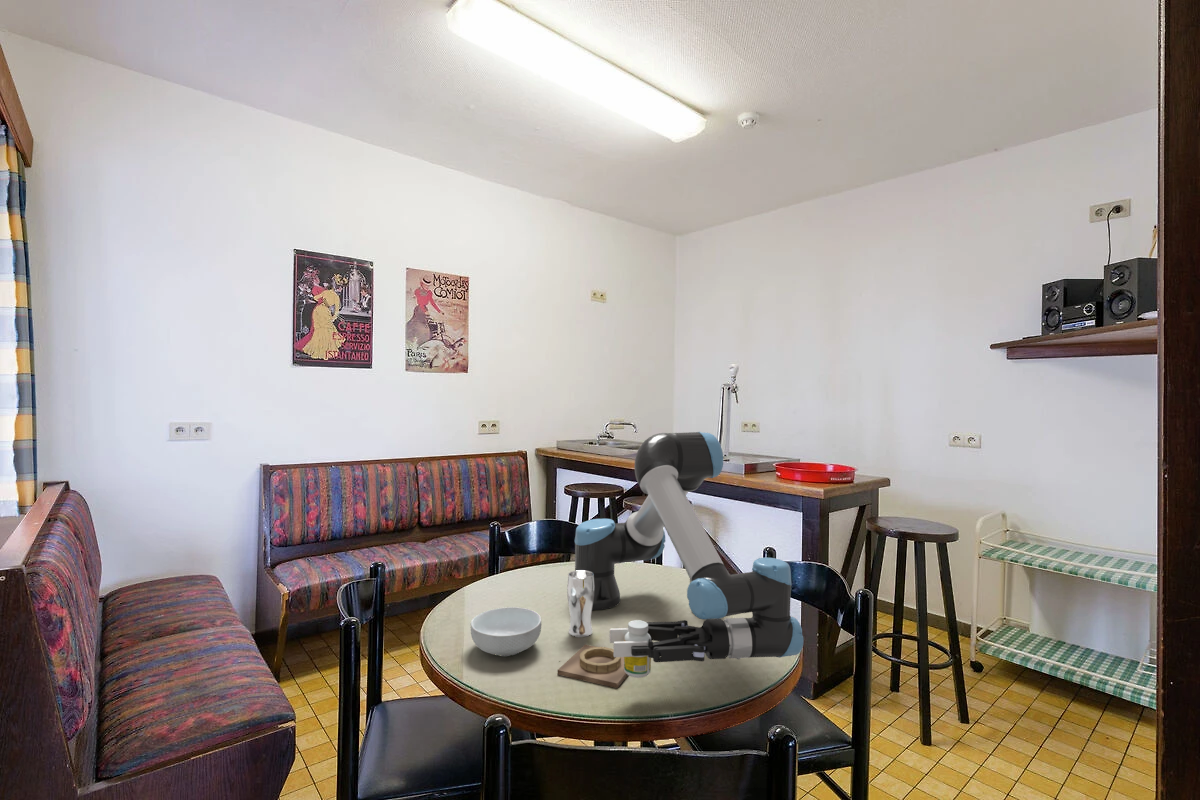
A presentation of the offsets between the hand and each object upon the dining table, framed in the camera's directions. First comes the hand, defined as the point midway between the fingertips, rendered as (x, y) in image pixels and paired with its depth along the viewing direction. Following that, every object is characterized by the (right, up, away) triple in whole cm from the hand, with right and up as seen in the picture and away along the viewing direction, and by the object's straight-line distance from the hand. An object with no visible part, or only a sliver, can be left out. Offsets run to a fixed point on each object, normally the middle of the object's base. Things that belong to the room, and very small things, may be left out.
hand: (612, 642), depth 113 cm
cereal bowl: (-25, -11, +23) cm, 35 cm away
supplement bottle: (+5, -6, +1) cm, 8 cm away
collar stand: (-2, -11, +14) cm, 18 cm away
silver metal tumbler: (-7, -11, +32) cm, 35 cm away
